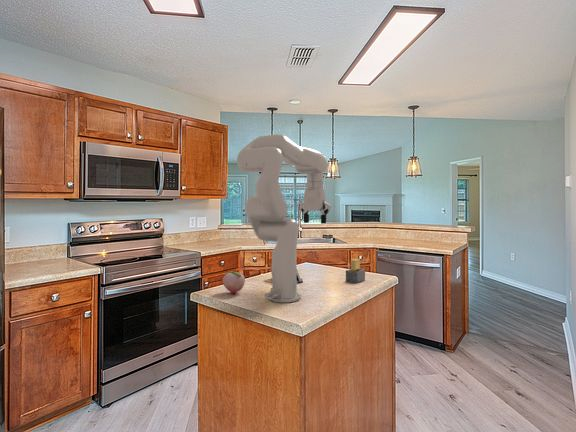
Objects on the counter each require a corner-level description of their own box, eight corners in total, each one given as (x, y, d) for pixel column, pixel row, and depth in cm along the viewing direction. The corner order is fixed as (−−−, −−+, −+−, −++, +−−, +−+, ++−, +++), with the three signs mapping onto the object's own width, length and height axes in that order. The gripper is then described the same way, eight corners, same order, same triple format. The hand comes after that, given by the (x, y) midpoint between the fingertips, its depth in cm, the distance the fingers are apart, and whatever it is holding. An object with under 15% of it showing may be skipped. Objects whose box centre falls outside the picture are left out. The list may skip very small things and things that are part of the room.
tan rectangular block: (355, 281, 158) (355, 260, 157) (350, 281, 159) (350, 260, 159) (359, 280, 161) (359, 259, 161) (355, 279, 163) (355, 258, 162)
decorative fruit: (249, 292, 141) (249, 268, 141) (237, 297, 134) (236, 272, 134) (232, 289, 146) (231, 266, 145) (219, 293, 139) (218, 269, 138)
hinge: (303, 282, 157) (298, 263, 155) (297, 287, 154) (291, 268, 152) (279, 276, 170) (274, 258, 167) (273, 281, 166) (267, 263, 164)
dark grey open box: (357, 283, 156) (357, 272, 155) (345, 281, 159) (345, 270, 159) (365, 279, 162) (365, 269, 162) (353, 278, 166) (353, 267, 165)
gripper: (295, 186, 159) (295, 222, 159) (326, 185, 147) (325, 224, 148) (304, 187, 164) (304, 222, 165) (335, 185, 153) (335, 223, 154)
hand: (314, 223), depth 156 cm, fingers open, 9 cm apart
